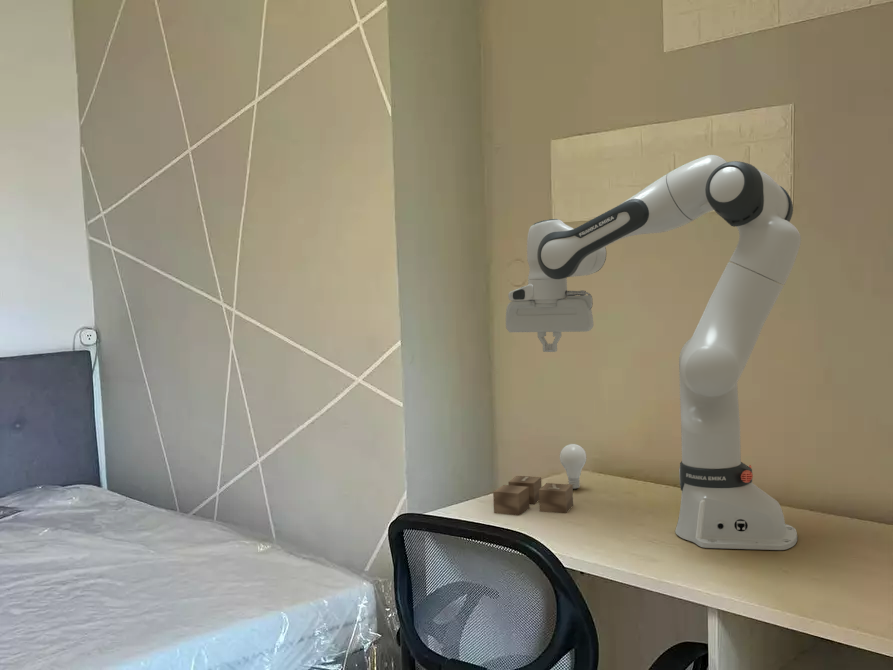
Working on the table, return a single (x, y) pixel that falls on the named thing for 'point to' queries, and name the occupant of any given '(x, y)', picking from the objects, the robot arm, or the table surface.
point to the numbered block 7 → (556, 498)
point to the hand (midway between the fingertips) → (550, 351)
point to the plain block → (511, 500)
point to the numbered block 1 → (530, 482)
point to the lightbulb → (573, 462)
